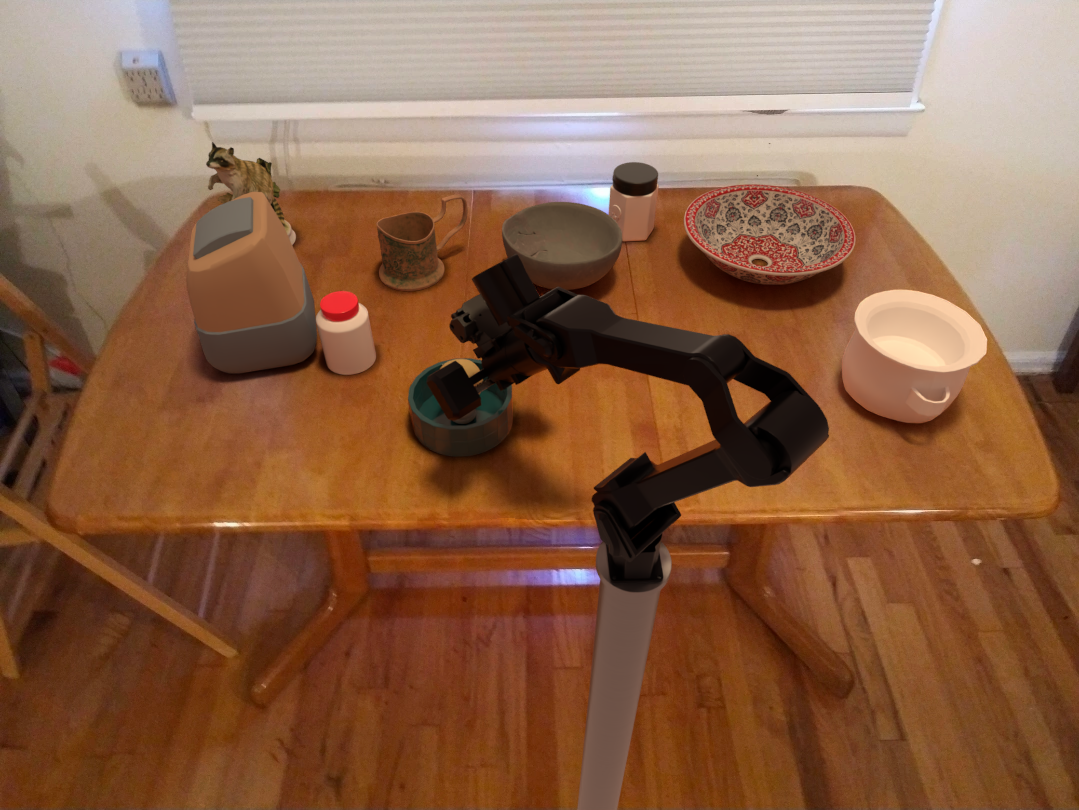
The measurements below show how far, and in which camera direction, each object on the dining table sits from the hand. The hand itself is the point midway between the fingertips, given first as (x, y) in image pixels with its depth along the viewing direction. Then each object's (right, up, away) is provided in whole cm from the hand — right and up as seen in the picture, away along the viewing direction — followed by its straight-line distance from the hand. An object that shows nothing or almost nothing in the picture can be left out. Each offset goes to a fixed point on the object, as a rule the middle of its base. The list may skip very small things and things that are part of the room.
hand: (471, 376), depth 104 cm
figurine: (-42, +27, +42) cm, 65 cm away
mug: (-11, +21, +36) cm, 44 cm away
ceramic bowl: (+49, +22, +37) cm, 65 cm away
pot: (+62, -2, +13) cm, 63 cm away
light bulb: (-2, -6, +8) cm, 10 cm away
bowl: (+13, +19, +34) cm, 41 cm away
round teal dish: (-2, -6, +9) cm, 11 cm away
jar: (+26, +29, +45) cm, 60 cm away
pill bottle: (-20, +3, +18) cm, 28 cm away
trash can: (-35, +6, +21) cm, 41 cm away
